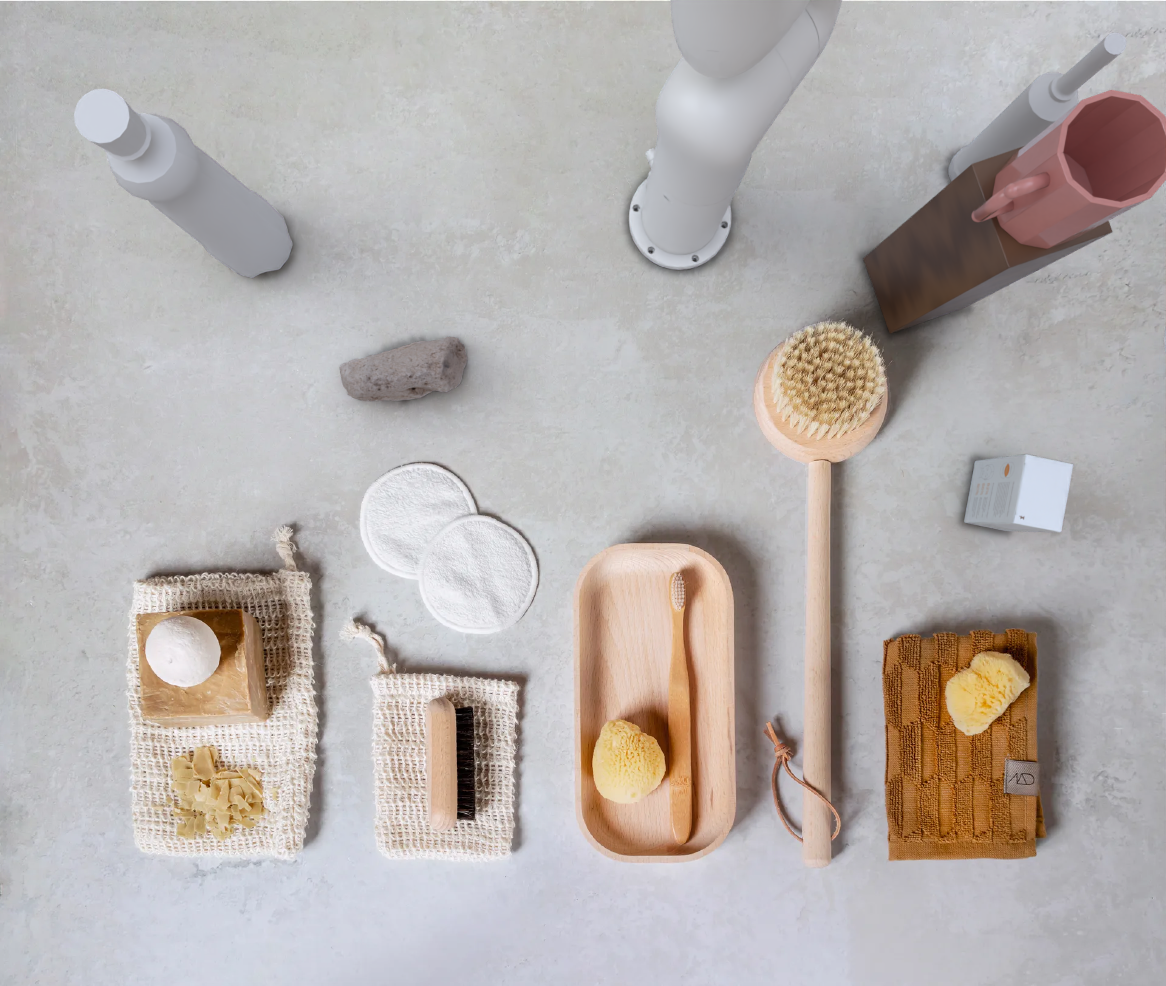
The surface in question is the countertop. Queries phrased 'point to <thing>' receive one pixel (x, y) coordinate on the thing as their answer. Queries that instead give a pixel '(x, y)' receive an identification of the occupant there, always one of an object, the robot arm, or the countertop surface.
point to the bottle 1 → (185, 184)
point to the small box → (1019, 493)
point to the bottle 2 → (1036, 107)
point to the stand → (955, 252)
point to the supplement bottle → (1164, 339)
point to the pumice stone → (406, 371)
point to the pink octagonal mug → (1081, 171)
